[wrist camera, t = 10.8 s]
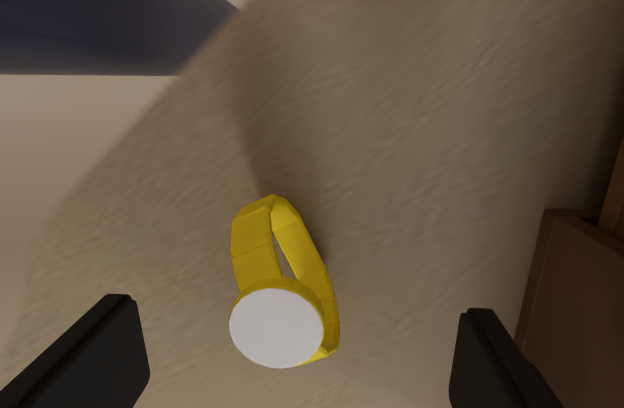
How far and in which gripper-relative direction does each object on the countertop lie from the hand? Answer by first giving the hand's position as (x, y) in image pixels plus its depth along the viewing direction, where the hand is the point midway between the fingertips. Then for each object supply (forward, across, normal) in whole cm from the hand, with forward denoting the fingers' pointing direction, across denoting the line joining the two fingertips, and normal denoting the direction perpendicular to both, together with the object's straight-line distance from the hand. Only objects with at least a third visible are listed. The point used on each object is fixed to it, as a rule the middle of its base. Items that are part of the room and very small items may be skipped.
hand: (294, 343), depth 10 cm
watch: (+6, +1, 0) cm, 6 cm away
